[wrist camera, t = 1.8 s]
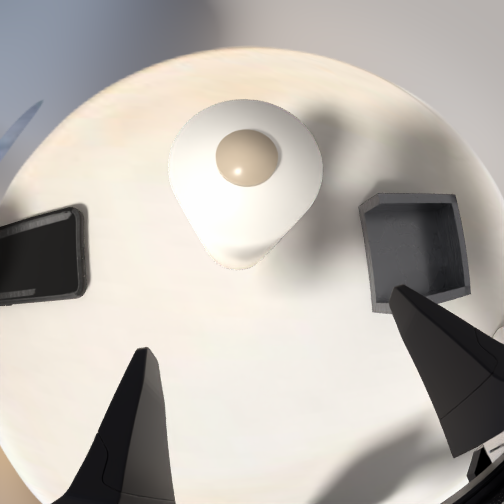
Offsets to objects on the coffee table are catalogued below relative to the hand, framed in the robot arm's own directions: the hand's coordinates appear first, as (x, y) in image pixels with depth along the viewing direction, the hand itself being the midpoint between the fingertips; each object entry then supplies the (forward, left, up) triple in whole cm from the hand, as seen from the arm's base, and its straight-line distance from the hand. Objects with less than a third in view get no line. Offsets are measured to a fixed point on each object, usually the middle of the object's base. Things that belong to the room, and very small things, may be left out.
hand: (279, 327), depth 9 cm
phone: (+19, +10, -13) cm, 25 cm away
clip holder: (-9, -12, -12) cm, 19 cm away
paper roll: (+4, -4, -12) cm, 13 cm away
